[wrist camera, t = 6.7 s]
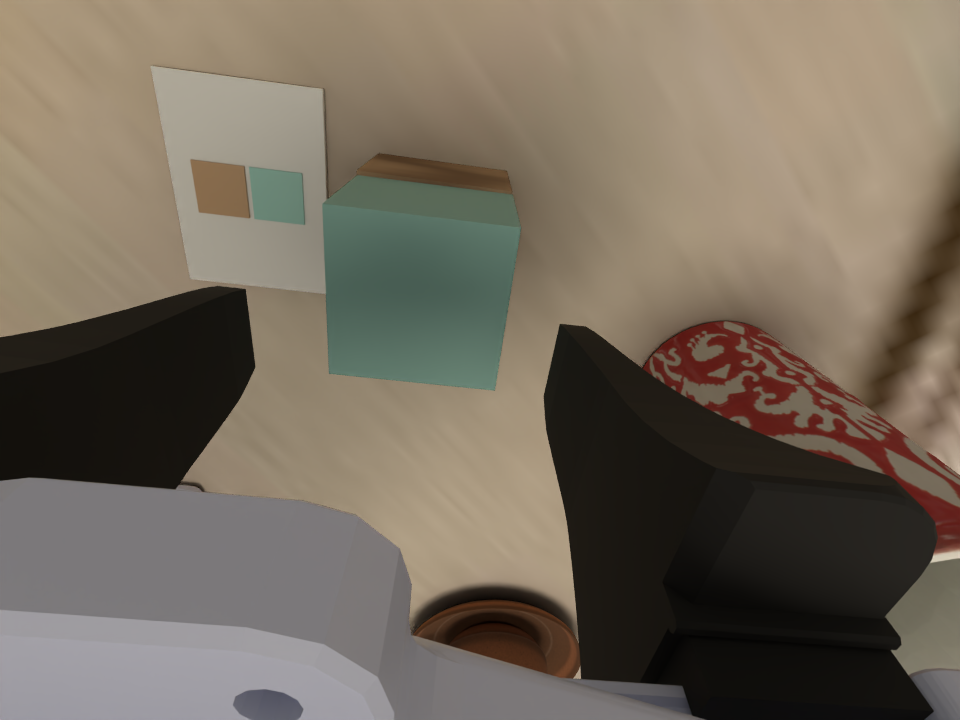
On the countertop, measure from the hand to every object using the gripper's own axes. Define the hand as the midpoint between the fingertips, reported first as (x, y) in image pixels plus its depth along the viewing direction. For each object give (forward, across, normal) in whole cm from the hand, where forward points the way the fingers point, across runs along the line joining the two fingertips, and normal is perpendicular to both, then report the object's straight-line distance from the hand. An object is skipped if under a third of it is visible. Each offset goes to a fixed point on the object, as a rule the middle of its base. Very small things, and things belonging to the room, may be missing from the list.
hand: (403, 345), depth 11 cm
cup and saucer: (+11, -6, +29) cm, 31 cm away
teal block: (+6, 0, 0) cm, 6 cm away
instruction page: (+10, +8, 0) cm, 13 cm away
